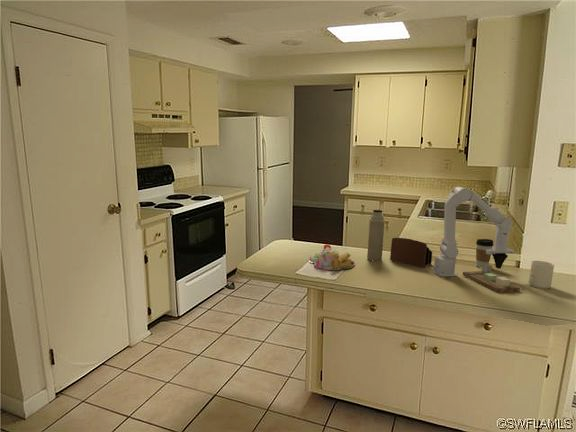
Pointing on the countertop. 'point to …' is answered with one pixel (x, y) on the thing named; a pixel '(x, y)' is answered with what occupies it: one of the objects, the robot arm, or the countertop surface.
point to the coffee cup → (483, 251)
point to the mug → (541, 274)
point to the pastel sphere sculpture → (332, 259)
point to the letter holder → (410, 252)
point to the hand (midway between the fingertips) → (498, 267)
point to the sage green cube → (490, 277)
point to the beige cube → (502, 281)
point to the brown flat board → (490, 282)
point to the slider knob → (486, 268)
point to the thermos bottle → (376, 236)
